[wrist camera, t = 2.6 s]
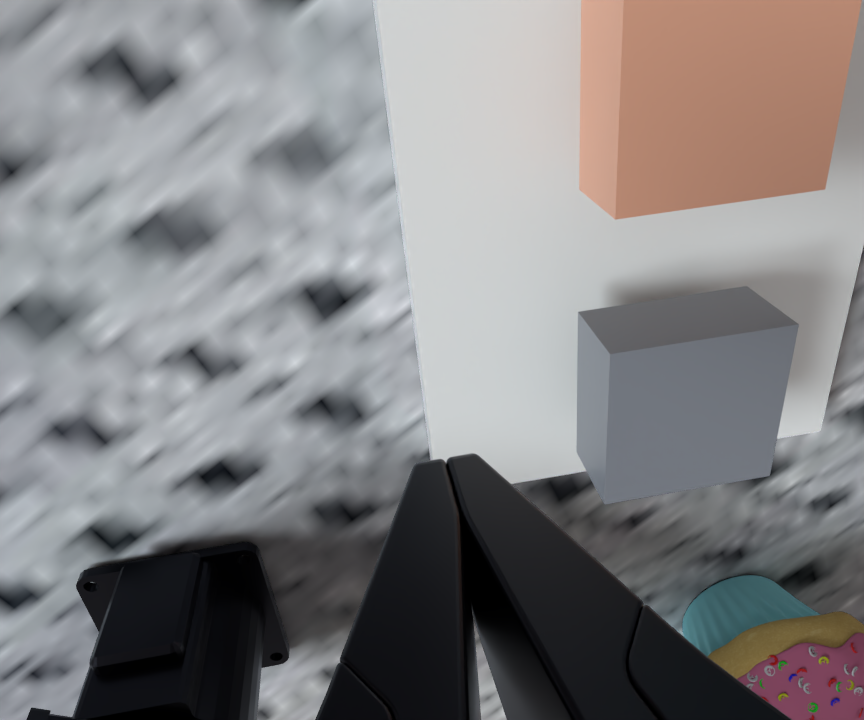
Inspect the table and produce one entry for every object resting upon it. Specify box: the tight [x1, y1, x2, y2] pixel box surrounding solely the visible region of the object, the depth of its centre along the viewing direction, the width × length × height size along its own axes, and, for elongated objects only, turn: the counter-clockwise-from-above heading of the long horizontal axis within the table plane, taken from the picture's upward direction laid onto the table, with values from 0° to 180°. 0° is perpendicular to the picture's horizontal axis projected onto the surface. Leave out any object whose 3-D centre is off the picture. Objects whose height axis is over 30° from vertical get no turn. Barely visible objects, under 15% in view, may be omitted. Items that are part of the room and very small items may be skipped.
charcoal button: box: [576, 286, 799, 505], centre depth 20 cm, size 5×5×2 cm
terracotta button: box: [579, 0, 862, 220], centre depth 15 cm, size 5×5×2 cm
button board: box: [373, 0, 864, 484], centre depth 18 cm, size 26×14×2 cm, turn 5°
